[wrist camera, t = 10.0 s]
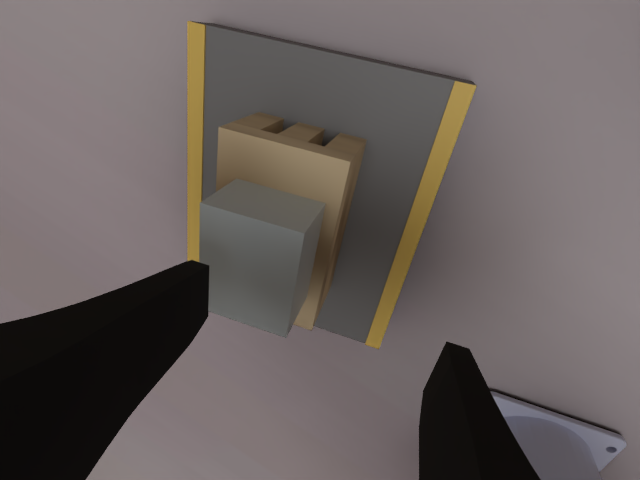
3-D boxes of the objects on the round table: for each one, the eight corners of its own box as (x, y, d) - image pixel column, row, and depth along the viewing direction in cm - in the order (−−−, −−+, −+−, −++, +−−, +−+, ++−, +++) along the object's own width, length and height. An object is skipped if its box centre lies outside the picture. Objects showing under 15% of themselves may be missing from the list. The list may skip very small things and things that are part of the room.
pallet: (331, 286, 20) (311, 330, 17) (245, 259, 20) (211, 296, 17) (366, 139, 16) (350, 161, 13) (258, 112, 16) (218, 126, 13)
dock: (383, 325, 22) (378, 349, 21) (205, 266, 24) (187, 284, 22) (471, 81, 15) (476, 85, 14) (213, 23, 17) (187, 20, 15)
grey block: (306, 297, 16) (285, 338, 14) (230, 272, 16) (198, 307, 14) (325, 203, 14) (304, 233, 11) (236, 178, 14) (199, 202, 12)
